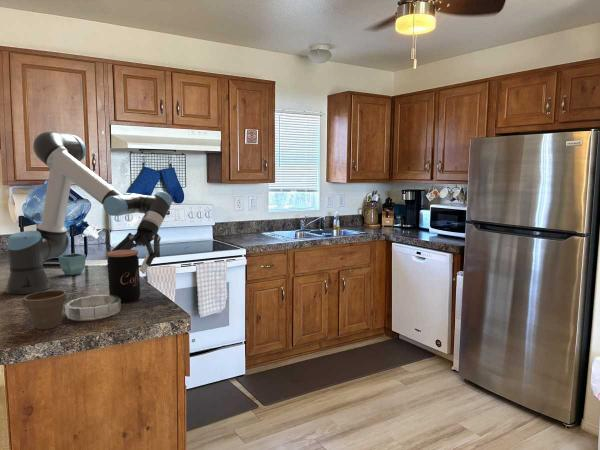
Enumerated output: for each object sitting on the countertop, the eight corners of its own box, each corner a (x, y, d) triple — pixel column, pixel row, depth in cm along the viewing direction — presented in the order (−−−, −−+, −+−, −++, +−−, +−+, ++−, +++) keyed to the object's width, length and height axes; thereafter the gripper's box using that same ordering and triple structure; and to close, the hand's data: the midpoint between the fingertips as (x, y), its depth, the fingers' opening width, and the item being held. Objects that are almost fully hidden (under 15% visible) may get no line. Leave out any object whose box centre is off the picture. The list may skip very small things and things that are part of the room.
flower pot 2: (87, 273, 218) (86, 254, 217) (69, 277, 211) (68, 257, 210) (76, 271, 223) (75, 253, 222) (59, 275, 216) (57, 256, 215)
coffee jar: (122, 305, 163) (119, 255, 161) (103, 301, 169) (100, 253, 167) (146, 298, 172) (144, 250, 170) (128, 294, 178) (125, 248, 176)
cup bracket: (55, 318, 150) (54, 306, 150) (93, 304, 165) (92, 293, 165) (95, 322, 145) (94, 310, 144) (130, 308, 160) (130, 297, 159)
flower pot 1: (23, 335, 134) (20, 301, 133) (27, 324, 144) (25, 292, 143) (68, 329, 139) (65, 296, 138) (68, 318, 149) (66, 288, 148)
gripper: (181, 231, 181) (160, 278, 169) (128, 230, 189) (104, 274, 177) (172, 219, 175) (150, 266, 163) (119, 218, 183) (93, 263, 171)
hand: (126, 270), depth 170 cm, fingers open, 13 cm apart
